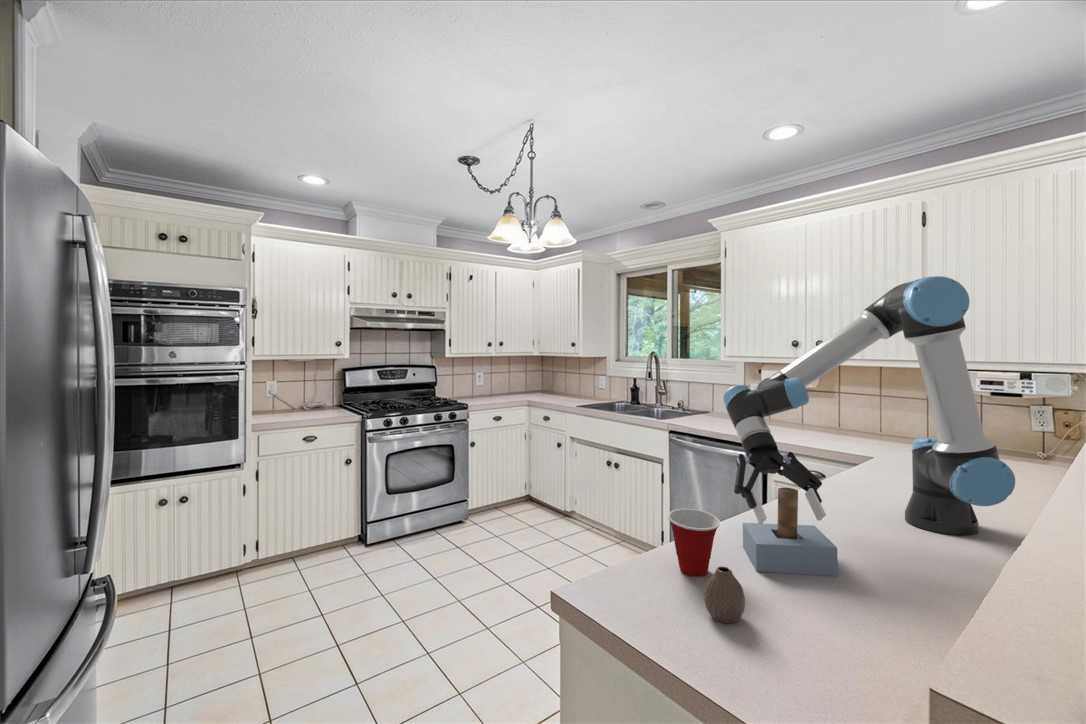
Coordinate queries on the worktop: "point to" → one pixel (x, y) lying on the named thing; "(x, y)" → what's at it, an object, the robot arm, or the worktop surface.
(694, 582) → the worktop surface
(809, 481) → the robot arm
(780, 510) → the walnut peg
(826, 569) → the bore block
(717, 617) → the vase
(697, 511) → the plastic cup
